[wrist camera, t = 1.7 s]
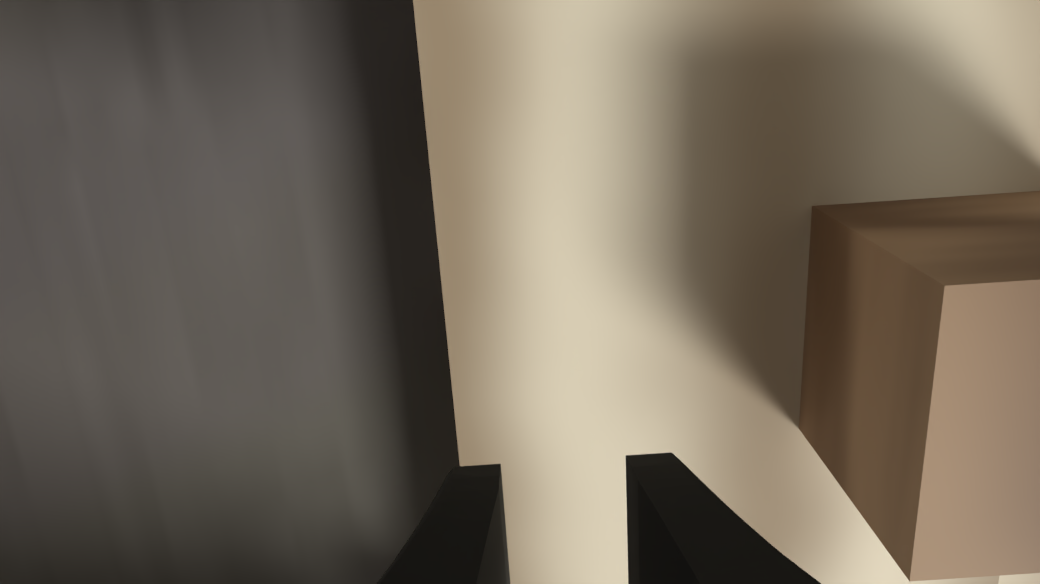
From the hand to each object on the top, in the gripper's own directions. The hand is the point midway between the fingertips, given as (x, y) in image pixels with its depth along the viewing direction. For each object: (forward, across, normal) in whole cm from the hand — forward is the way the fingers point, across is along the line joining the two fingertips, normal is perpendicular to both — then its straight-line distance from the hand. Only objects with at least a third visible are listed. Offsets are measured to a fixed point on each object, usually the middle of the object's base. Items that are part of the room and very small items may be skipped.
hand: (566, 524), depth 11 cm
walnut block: (+6, -8, 0) cm, 10 cm away
